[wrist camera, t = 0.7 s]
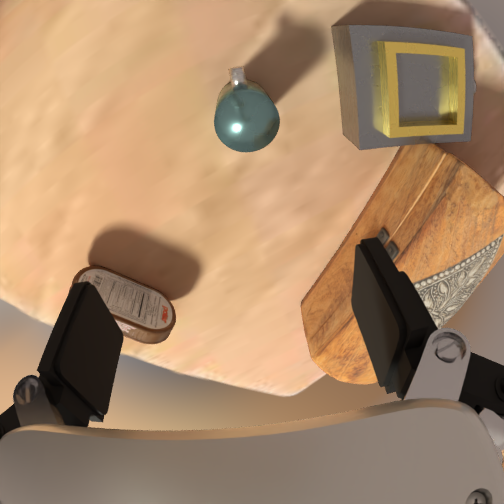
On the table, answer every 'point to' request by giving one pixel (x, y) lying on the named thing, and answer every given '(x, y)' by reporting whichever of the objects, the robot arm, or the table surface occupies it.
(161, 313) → the tin
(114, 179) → the table surface
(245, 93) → the spout can
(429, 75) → the grey yellow box
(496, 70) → the table surface
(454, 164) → the wooden box
